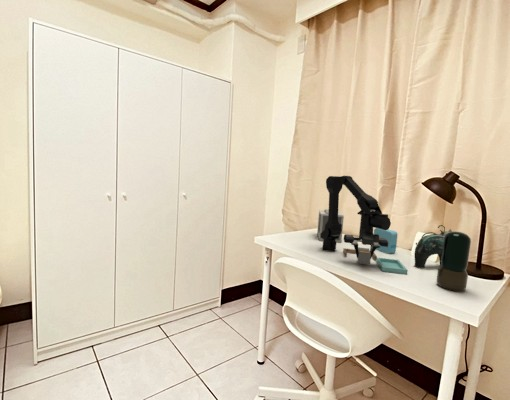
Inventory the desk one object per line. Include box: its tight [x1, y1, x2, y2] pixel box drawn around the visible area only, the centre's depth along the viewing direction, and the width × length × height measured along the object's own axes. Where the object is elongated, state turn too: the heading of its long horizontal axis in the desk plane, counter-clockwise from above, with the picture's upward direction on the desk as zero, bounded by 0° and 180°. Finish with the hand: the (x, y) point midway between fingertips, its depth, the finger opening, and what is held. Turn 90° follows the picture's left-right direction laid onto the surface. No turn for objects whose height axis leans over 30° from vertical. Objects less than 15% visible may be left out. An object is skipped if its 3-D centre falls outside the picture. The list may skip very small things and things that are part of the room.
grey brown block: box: [356, 246, 372, 265], centre depth 132 cm, size 5×9×5 cm, turn 164°
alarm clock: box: [316, 208, 345, 244], centre depth 177 cm, size 18×13×18 cm
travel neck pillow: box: [414, 224, 453, 269], centre depth 133 cm, size 20×6×20 cm, turn 102°
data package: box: [373, 228, 399, 254], centre depth 156 cm, size 12×4×12 cm, turn 24°
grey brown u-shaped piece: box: [342, 247, 378, 261], centre depth 144 cm, size 15×9×2 cm, turn 77°
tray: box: [375, 256, 408, 275], centre depth 129 cm, size 10×14×2 cm
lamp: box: [436, 230, 472, 292], centre depth 109 cm, size 10×10×22 cm
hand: (363, 258), depth 132 cm, fingers closed on grey brown block, 5 cm apart
